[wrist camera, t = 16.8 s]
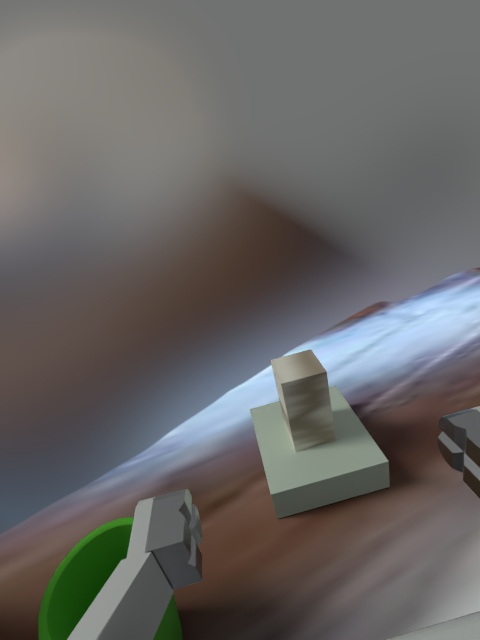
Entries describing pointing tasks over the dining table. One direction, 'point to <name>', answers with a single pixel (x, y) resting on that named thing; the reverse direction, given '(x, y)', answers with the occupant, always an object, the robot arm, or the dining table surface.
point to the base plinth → (318, 460)
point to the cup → (92, 583)
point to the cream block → (304, 399)
